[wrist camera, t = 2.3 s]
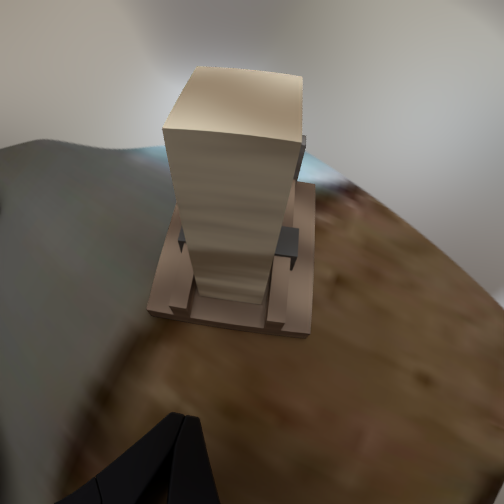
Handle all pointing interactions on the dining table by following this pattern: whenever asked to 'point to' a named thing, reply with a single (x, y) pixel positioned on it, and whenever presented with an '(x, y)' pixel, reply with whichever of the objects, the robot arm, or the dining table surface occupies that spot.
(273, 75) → the birch peg
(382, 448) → the dining table surface
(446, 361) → the dining table surface
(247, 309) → the peg housing
